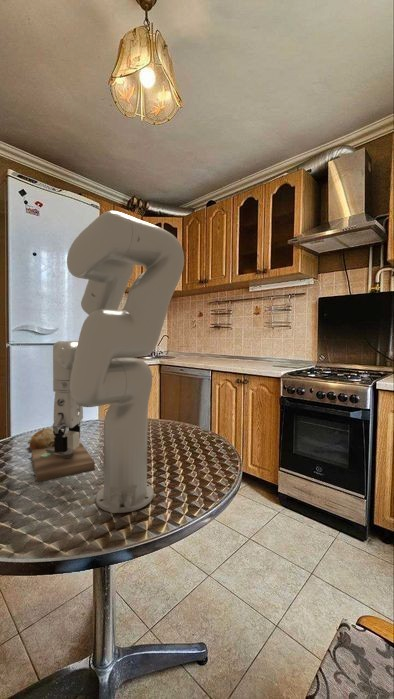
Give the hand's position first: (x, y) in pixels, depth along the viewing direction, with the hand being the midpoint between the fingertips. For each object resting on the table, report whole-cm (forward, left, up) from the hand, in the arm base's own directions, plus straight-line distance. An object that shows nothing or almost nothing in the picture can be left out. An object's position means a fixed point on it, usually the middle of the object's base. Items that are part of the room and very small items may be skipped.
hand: (68, 445), depth 85 cm
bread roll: (+14, +11, -6) cm, 19 cm away
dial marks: (+4, +4, -3) cm, 7 cm away
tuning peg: (+1, +2, -3) cm, 4 cm away
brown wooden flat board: (+1, +2, -6) cm, 6 cm away
